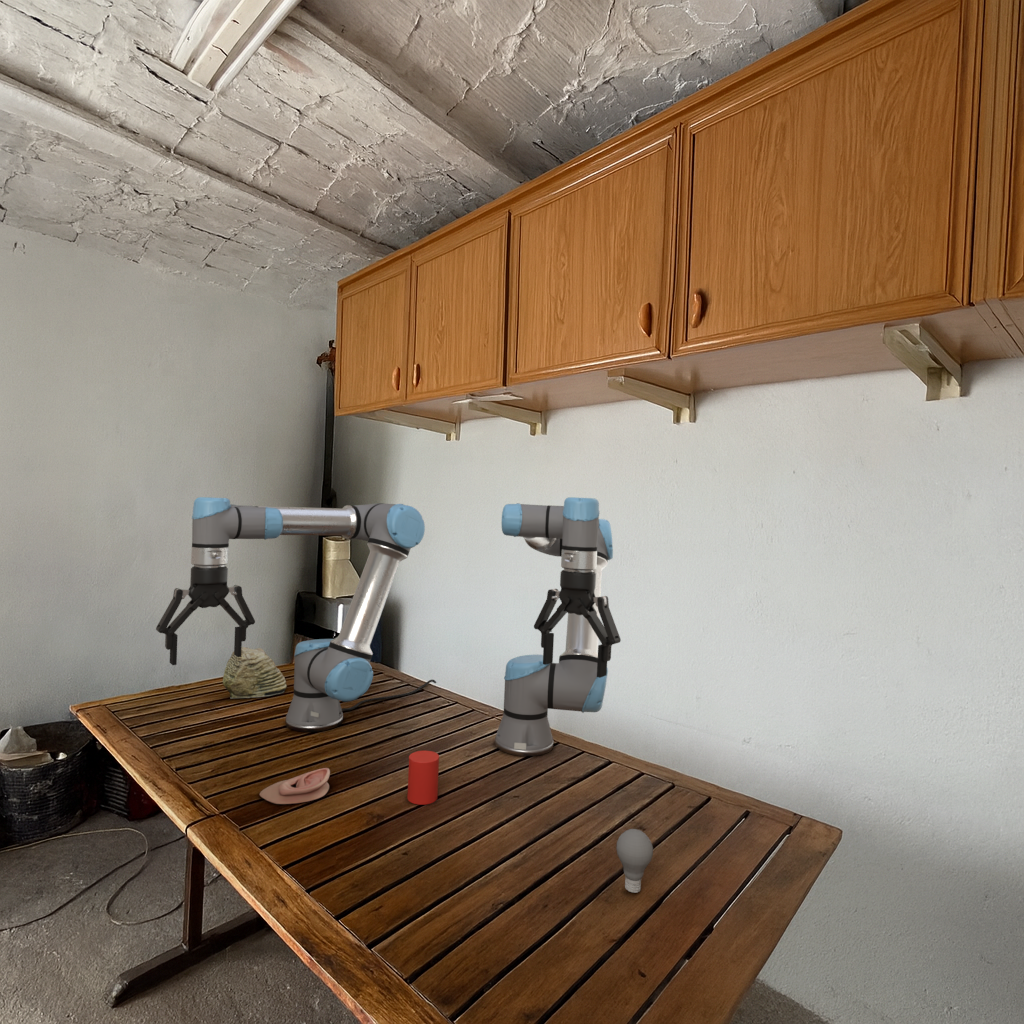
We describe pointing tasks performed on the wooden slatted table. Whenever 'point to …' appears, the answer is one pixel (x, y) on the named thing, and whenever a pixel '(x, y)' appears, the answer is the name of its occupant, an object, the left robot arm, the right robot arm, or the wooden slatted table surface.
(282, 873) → the wooden slatted table surface
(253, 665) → the fossil
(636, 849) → the light bulb
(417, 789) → the cylinder
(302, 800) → the anatomical model
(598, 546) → the right robot arm
